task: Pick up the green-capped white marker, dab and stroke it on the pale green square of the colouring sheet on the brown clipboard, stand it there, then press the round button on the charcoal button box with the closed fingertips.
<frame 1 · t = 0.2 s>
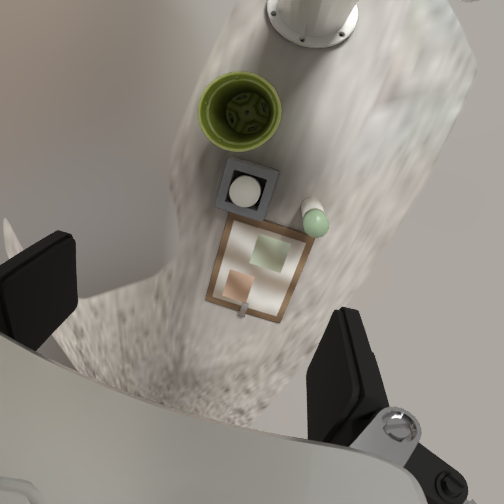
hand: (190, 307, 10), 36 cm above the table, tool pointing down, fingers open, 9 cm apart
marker: (311, 207, 45), on the table
button box: (248, 186, 45), on the table
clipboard: (257, 269, 50), on the table
plant pot: (248, 113, 41), on the table
button cap: (245, 190, 42), point 3 cm above the table, slide at 0.0 cm
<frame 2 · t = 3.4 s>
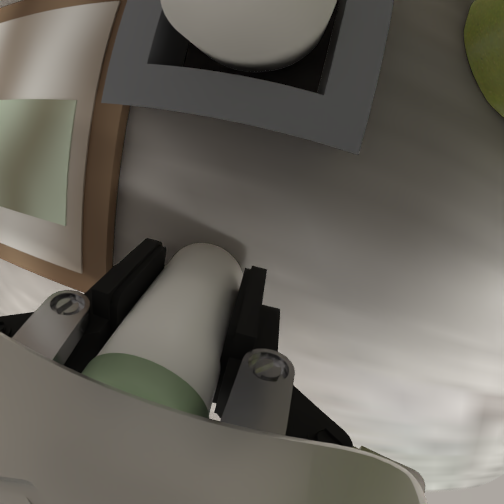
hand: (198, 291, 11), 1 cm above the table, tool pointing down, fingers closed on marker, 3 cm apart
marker: (205, 279, 12), on the table, touching gripper
button box: (261, 26, 9), on the table
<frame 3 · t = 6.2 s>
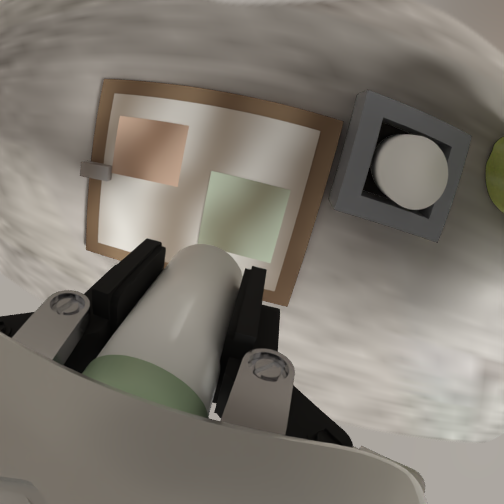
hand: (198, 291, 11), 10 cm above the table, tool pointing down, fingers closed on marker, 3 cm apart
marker: (204, 280, 12), point 9 cm above the table, touching gripper
button box: (393, 163, 18), on the table
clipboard: (195, 188, 20), on the table
button cap: (408, 169, 16), point 3 cm above the table, slide at 0.0 cm
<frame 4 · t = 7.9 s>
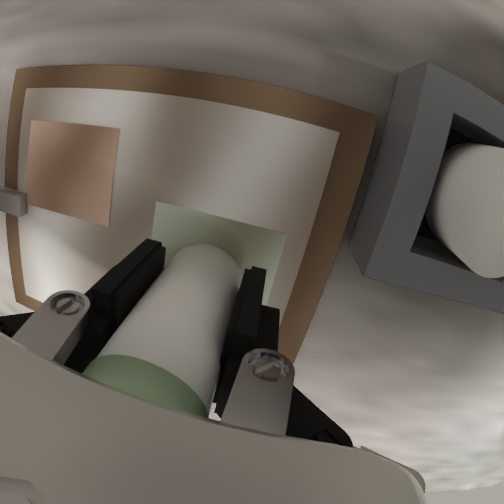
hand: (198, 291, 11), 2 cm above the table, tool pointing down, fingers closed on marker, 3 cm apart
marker: (204, 280, 12), point 1 cm above the table, touching gripper
button box: (450, 188, 11), on the table
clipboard: (137, 226, 13), on the table
button cap: (487, 206, 8), point 3 cm above the table, slide at 0.0 cm
when the fingers open (2 cm above the table, at t = 9.2 s): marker stays where it is, resting on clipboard.
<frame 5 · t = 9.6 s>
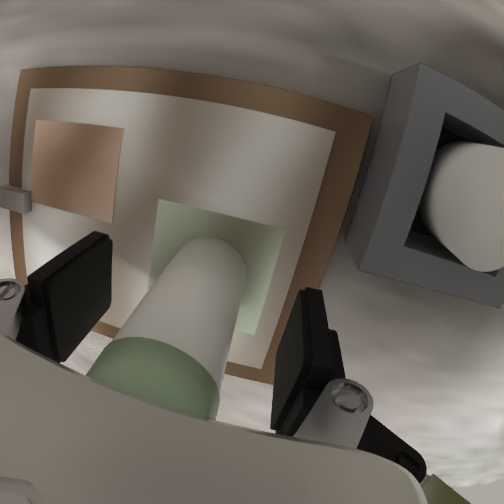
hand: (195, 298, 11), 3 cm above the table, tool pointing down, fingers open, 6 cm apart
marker: (209, 271, 13), point 1 cm above the table, touching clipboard
button box: (444, 185, 11), on the table
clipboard: (139, 223, 13), on the table
button cap: (478, 202, 9), point 3 cm above the table, slide at 0.0 cm
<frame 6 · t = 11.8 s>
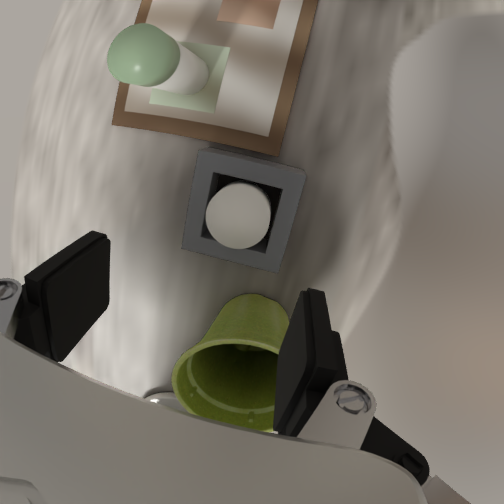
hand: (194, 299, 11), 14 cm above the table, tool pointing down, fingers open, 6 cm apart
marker: (188, 75, 19), point 1 cm above the table, touching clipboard
button box: (245, 203, 23), on the table
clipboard: (215, 35, 19), on the table
plant pot: (253, 320, 27), on the table
button cap: (239, 213, 21), point 3 cm above the table, slide at 0.0 cm
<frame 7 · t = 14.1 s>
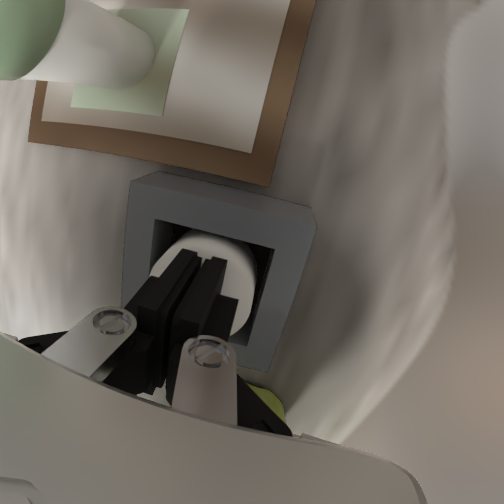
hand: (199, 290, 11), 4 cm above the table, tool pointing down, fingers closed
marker: (123, 58, 11), point 1 cm above the table, touching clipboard
button box: (217, 259, 15), on the table
plant pot: (236, 406, 19), on the table
button cap: (205, 283, 13), point 2 cm above the table, slide at 0.4 cm, touching gripper
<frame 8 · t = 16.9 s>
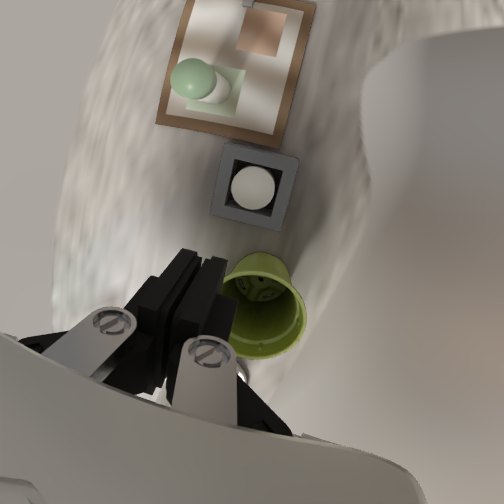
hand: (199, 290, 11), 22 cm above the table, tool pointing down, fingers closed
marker: (215, 89, 28), point 1 cm above the table, touching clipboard
button box: (255, 183, 32), on the table
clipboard: (234, 60, 27), on the table
plant pot: (261, 275, 36), on the table
button cap: (254, 186, 30), point 2 cm above the table, slide at 1.0 cm
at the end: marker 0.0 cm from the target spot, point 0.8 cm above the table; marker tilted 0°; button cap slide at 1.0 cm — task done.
